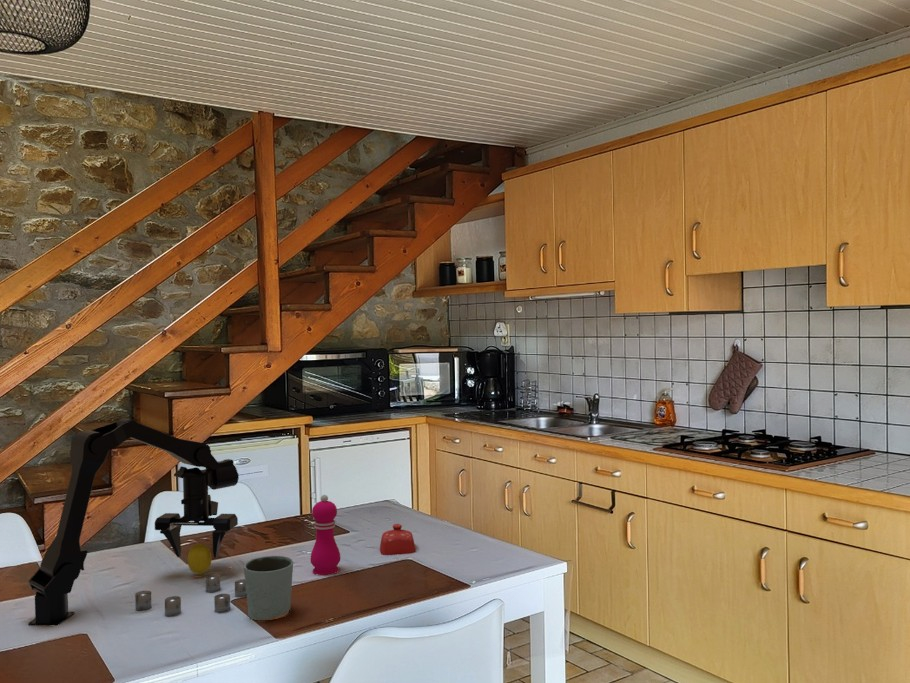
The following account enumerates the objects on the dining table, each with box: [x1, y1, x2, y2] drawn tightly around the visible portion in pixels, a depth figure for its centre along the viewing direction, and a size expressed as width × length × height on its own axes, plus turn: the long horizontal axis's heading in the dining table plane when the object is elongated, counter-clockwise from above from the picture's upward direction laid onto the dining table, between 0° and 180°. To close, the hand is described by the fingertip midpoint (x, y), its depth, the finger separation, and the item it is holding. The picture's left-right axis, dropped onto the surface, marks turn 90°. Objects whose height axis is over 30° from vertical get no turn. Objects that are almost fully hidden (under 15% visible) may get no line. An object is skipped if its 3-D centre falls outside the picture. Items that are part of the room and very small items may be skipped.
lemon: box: [187, 542, 213, 576], centre depth 185 cm, size 6×6×8 cm
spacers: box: [134, 573, 247, 617], centre depth 168 cm, size 17×22×4 cm
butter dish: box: [379, 523, 416, 556], centre depth 201 cm, size 12×12×8 cm
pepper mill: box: [310, 494, 341, 576], centre depth 185 cm, size 7×7×20 cm
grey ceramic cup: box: [243, 555, 294, 620], centre depth 159 cm, size 10×10×12 cm
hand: (197, 556), depth 185 cm, fingers open, 9 cm apart
